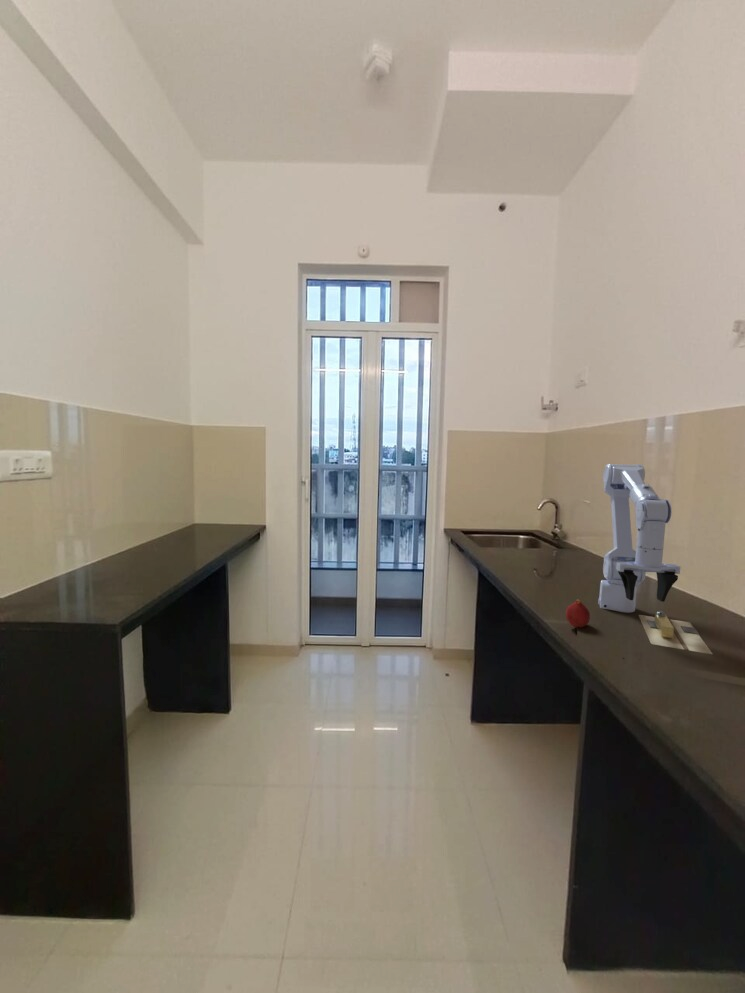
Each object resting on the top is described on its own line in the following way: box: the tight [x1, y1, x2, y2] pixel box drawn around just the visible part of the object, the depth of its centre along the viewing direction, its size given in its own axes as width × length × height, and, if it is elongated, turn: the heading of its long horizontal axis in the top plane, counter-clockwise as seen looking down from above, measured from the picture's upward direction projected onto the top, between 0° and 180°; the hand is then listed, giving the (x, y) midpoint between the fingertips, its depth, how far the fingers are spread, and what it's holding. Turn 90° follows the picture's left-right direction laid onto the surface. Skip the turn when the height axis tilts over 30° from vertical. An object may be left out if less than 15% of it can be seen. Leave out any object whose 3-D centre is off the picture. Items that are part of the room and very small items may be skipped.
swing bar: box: [654, 610, 674, 638], centre depth 111 cm, size 10×2×3 cm, turn 156°
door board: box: [638, 614, 714, 656], centre depth 111 cm, size 12×21×2 cm, turn 156°
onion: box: [565, 599, 591, 629], centre depth 114 cm, size 6×6×8 cm
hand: (645, 599), depth 111 cm, fingers open, 7 cm apart
